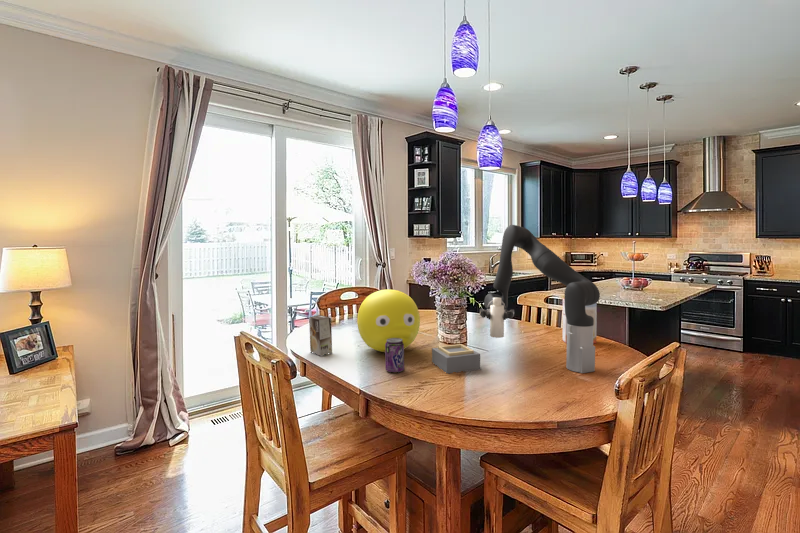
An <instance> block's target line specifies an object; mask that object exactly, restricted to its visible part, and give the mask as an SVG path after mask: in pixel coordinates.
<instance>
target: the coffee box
mask: <svg viewBox="0 0 800 533" xmlns="http://www.w3.org/2000/svg"><path fill="white" fill-rule="evenodd" d="M308 321H309V325H308V326H309V345H310V346H309V347H310V351H311V352H313V353H316V354H318V355H317V356H319V355H324V354H328V353H332V354H333V342H332V341H333V336H332V335H333V334H332V333H333V332H332V317H329V316H326V315H321V314H319V315H313V316H309V317H308ZM311 352H310V353H311ZM313 353H312V354H313ZM316 354H315V355H316ZM328 355H329V354H328ZM324 356H325V355H324Z"/></svg>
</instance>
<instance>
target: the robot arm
mask: <svg viewBox="0 0 800 533" xmlns="http://www.w3.org/2000/svg"><path fill="white" fill-rule="evenodd" d="M514 248H520V249H521V250H523V251H524V252H526V253H527V254H528V255H529V256H530V258H531V262H532V264H533V266H534V267H535V269H537V270H538V271H539V272H540V273H542V275H544V276H545V277H547V278H549V279H551V280H554V281H555V282H558V283H560V284H563V285H565V286H566V287H565V288H564V289H565V290H564V296H563V298H564V300H565V315H566V318H567V343H566V359H565V360H566V365H565V367H566V369H567V370H569V371H571V372H576V373H580V374H585V373H592V372H595V371H596V346H595V345H594V343H593V331H594V319H593V317H592V316H589V315H587V314H586V311H585V306H589V305H593V304H595V303H597V304H598V302H599V300H600V298H601V294H600V291H599V288H598V287H597V285H596V284H595V283H594V282H593V281H591V280H589V279H588V278H587V277H585V276H584V275H582V274H580V273H579V272H578V271H576V270H575V269H573V268H572V267H571V266H570V265H569V264H567V263H566V262H565V261H564V260H563V259H562V258H561V257H560V256H558V255H557V254H556V253H555V252H554V251H553V250H551V249H550V248H549V247H547V246H546V245H545V244H543V243H541V241H540V240H539V239H538V238H537V237H536V236H535V235H534V234H533V233H532V231H530V230H529V229H528V228H526V227H523V226H519V225H516V224H510V225H508V226H507V227H506V228H505V229H504V232H503V235H502V241H501V248H500V257H499V263H498V267H497V271H496V274H495V278H494V280H493V288H494V289H495V290H497V291H499V292H500V293H501V294H502V295H499V294H496V293H492V292H491V293H487V295H485V297H484V301H483V303H484V304H483V305H484V307H485V308H486V309H483V308H479V316H480V317H481V318H483V319H484V318H486V319H488V320H490V305H493V298H494V297H500V298H501V305H504V321H506V320H508V318H509V319H513V317H514V316H515V309H513V308H512V309H509V310H508V305H509V302H508V301H509V297H508V296H509V289H510V285H511V282H512V279H513V274H514V268H513V262H512V261H513V260H512V257H513V256H512V255H513V250H514Z"/></svg>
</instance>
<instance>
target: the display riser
mask: <svg viewBox="0 0 800 533" xmlns="http://www.w3.org/2000/svg"><path fill="white" fill-rule="evenodd" d="M432 362H433V363H434V364H435V365H434V364H433V363H432ZM431 363H432V364H433V365H434V366H436V365H437V366H438V367H439V368H438V367H437V366H436V367H437V368H438V369H440V370H441V369H442V370H443V372H444V373H445V372H446V373H445V374H447V373H448V374H454V373H453V372H456V373H462V372H461V371H463V372H470V371H477V370H481V353H479V352H477V351H476V350H474V349H472V348H470V347H467V346H466V345H464V344H462V343H457V344H450V345H442V346H441V345H440V346H437V347H432V348H431ZM442 370H441V371H442Z"/></svg>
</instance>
